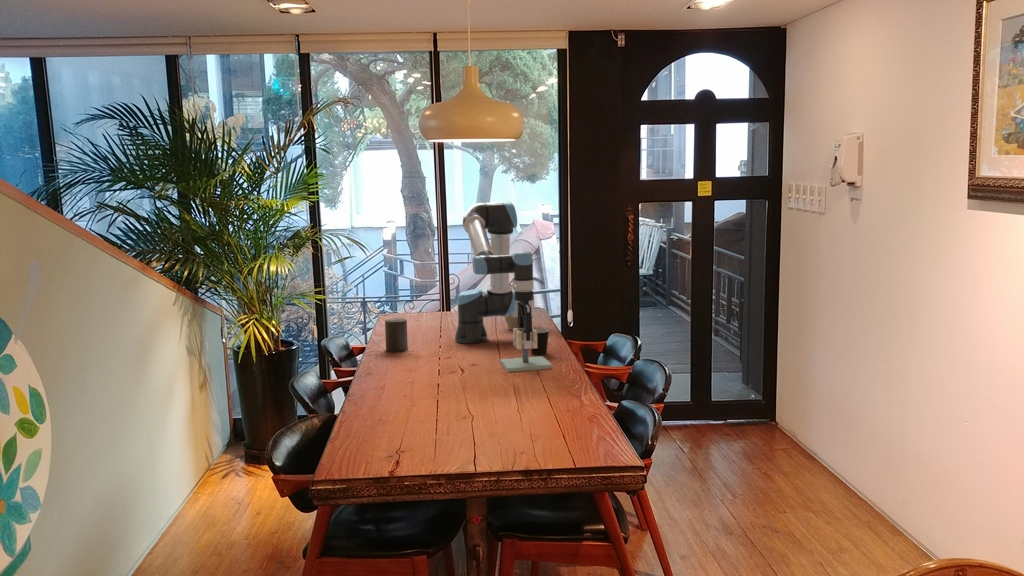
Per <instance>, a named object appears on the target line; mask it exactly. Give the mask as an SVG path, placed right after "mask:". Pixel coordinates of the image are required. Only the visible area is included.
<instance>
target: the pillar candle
mask: <svg viewBox="0 0 1024 576" xmlns="http://www.w3.org/2000/svg"><path fill="white" fill-rule="evenodd" d="M384 322H385V323H384V327H385V329H384V331H385V332H384V334H385V335H384V336H385V351H386V352H387V353H388V352H389V353H400V352H401V353H402V352H405V351H408V348H409V347H408V346H409V345H408V344H409V343H408V342H409V341H408V321H407V318H404V317H403V318H402V317H396V316H394V317H393V318H392V317H391V318H387V319H385V320H384Z"/></svg>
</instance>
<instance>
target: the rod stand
mask: <svg viewBox="0 0 1024 576" xmlns="http://www.w3.org/2000/svg"><path fill="white" fill-rule="evenodd" d="M521 353H522V355H521V357H514V358H503V359H501V358H500V359H499V363H500V365H501V364H502V365H501V366H502V367H503V368H504V369H505V371H506V372H508V373H511V372H523V371H536V370H537V371H538V370H548V369H549V370H550V369H553V364H552V363H551V362H550V361H549V360H548V359H547V358H546V357H544V355H536V356H529V349H521Z"/></svg>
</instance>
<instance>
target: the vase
mask: <svg viewBox="0 0 1024 576" xmlns="http://www.w3.org/2000/svg"><path fill="white" fill-rule="evenodd" d="M513 283H515V281H513V282H511V283H510V286H511V287H512V290H513V291H514V292H515V291H516V290H515V285H513ZM533 297H534V295H533ZM518 302H520V301H516V304H515V309H514V312H513V313H512V314H511V315H507V316H503V317H504V319H505V322H506V324H507V327H508V329H509V330H510V331H513V329H514V328H519V327H518V326H519V325H517V323H518V304H517V303H518ZM529 305H530V307H531V308H532V309H531V316H532V318H533V316H534V311H535V297H534V299H533V300H531V301H529Z"/></svg>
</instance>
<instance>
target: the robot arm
mask: <svg viewBox="0 0 1024 576" xmlns="http://www.w3.org/2000/svg"><path fill="white" fill-rule="evenodd" d="M462 226H463V229H464V231H465V232H466V234H467V235H468V238H469V241H470V245H471V247H472V251H473V254H474V257H473V258H472V262H471V263H472V270H473V274H475V275H480V276H485V275H490V278H489V279H490V281H489V282H490V284H489V285H488V286H487V287H486V291H484V292H483V290H482V289H480V288H476V289H469V290H463V291H462V292H460V293H458V294H457V301H456V302H457V303H456V305H457V328H456V331H455V335H454V341H455V342H456V343H459V344H480V343H483V342H486V341H487V342H488V338H489V337H488V333H487V329H486V327H485V325H484V318H490V317H491V318H492V317H494V318H495V317H504V316H507V315H511V314H512V313H513V312H514V309H515V304H516V301H520V302H518V303H517V304H518V323H517V325H519V326H518V327H519V328H524V329H525V331H523V333H524V349H528V350H530V348H531V332H532V331H533V330H532V327H533V317H532V316H531V309H532V308H531V307H530V305H529V301H531V300H533V299H534V300H535V297H533V296H534V290H533V289H534V263H533V262H534V260H533V253H532V252H531V251H525V250H524V251H520V250H519V251H516V252H514V253H511V254H510V248H511V247H510V246H511V245H510V242H511V241H510V240H511V239H510V238H511V235H512V234H513V233H514V229H515V228H517V227H518V215H517V211H516V207H515V205H514V204H513V203H512V202H509V201H496V202H495V201H494V202H477V203H475V204H473V205H472V206H470V207H469V208H468V209H467V210H466V211H465V213H464V215H463V218H462ZM486 230H487V231H486ZM487 234H489V236H490V240H489V237H488V235H487ZM510 274H513V276H514V277H513V279H514V280H513V282H515V283H513V282H512V283H513V285H515V290H516V291H515V292H514V291H513V290H512V286H511V284H510Z"/></svg>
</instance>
